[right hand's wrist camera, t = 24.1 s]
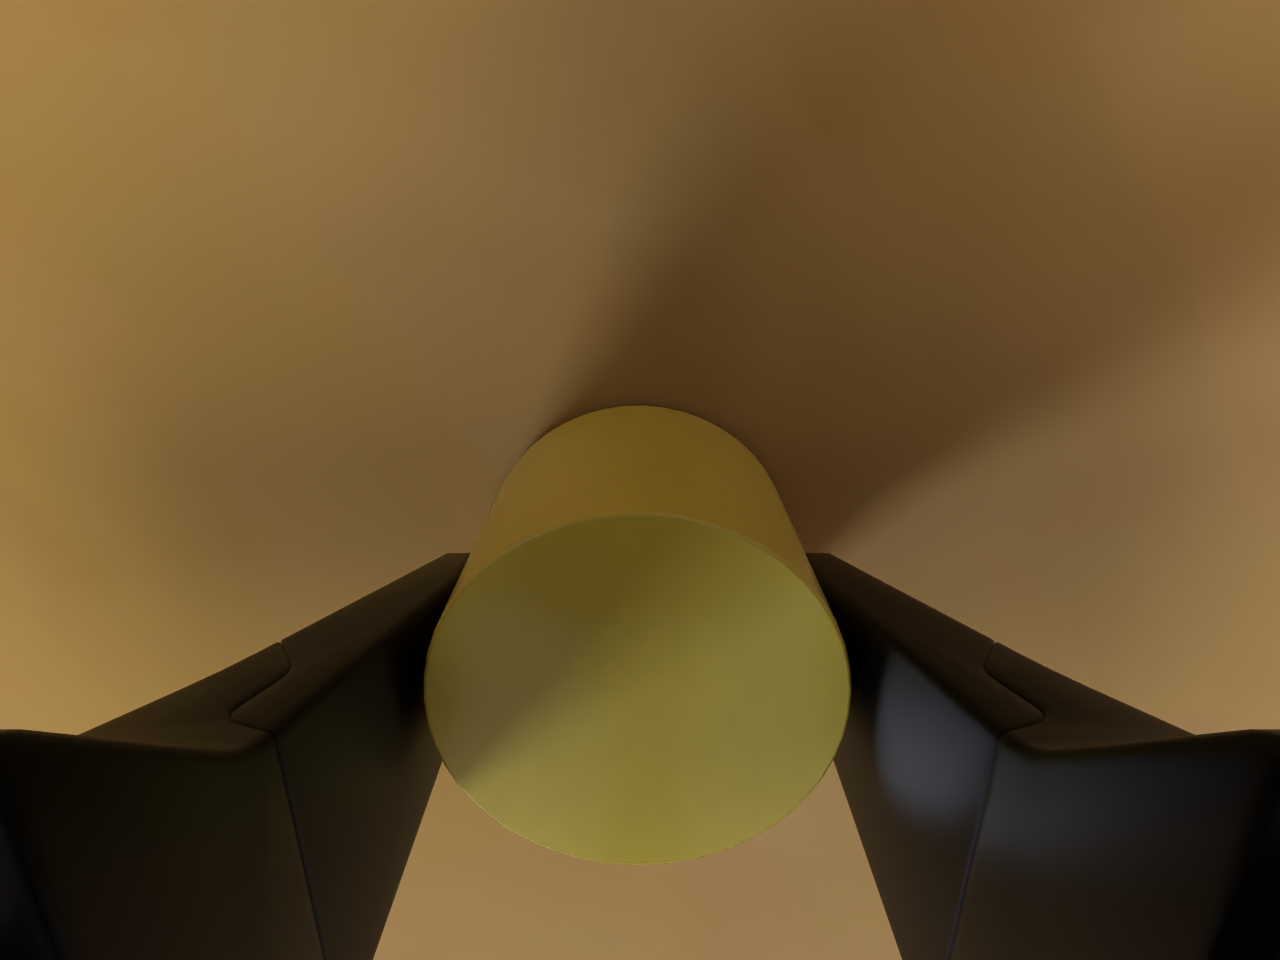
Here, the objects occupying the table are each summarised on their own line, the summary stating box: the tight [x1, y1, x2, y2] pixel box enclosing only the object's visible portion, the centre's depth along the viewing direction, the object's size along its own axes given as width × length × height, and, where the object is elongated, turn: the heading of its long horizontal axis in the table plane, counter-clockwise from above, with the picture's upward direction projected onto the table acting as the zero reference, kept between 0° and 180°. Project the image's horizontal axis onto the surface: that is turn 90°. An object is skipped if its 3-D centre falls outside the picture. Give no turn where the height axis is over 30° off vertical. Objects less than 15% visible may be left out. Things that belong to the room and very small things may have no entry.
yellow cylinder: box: [424, 406, 852, 865], centre depth 10 cm, size 5×5×4 cm
